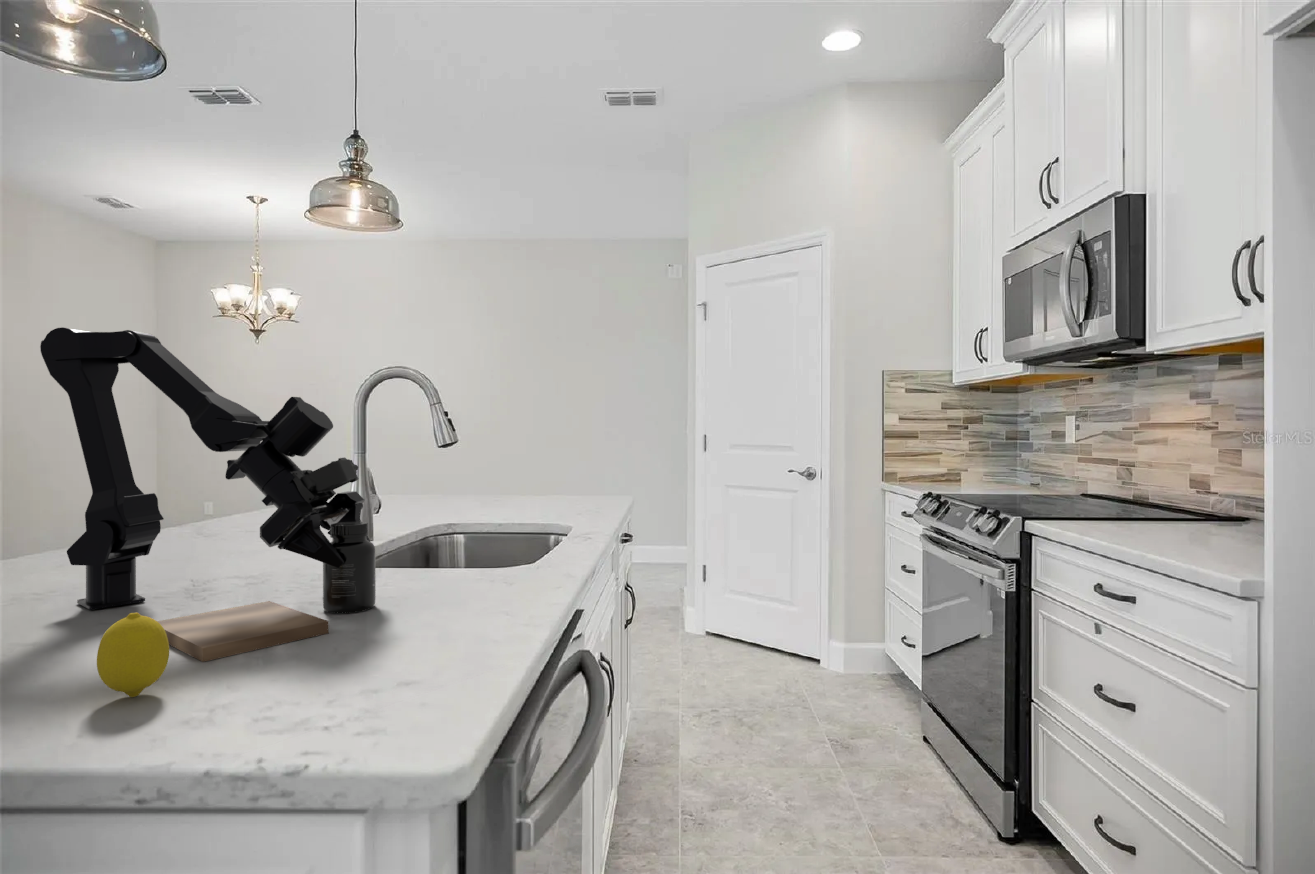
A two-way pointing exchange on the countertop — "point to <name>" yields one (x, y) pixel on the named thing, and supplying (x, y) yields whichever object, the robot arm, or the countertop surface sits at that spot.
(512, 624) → the countertop surface
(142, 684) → the lemon
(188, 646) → the walnut board
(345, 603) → the supplement bottle
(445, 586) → the countertop surface
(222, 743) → the countertop surface
